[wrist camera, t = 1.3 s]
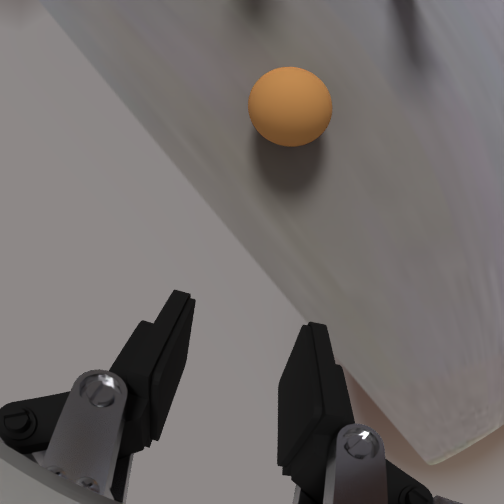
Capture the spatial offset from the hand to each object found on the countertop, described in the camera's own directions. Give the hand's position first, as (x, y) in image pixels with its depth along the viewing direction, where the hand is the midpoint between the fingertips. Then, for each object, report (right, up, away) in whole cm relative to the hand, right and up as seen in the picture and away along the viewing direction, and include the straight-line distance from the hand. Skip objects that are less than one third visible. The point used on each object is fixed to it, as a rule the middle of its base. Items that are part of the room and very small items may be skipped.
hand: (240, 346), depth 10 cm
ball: (+3, +13, +8) cm, 15 cm away
